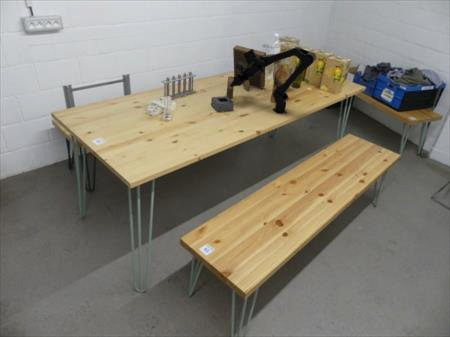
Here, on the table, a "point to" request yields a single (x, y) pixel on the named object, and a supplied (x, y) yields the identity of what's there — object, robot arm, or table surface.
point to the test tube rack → (179, 85)
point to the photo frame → (258, 78)
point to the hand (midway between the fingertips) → (233, 83)
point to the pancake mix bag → (280, 74)
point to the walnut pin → (230, 89)
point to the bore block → (222, 103)
